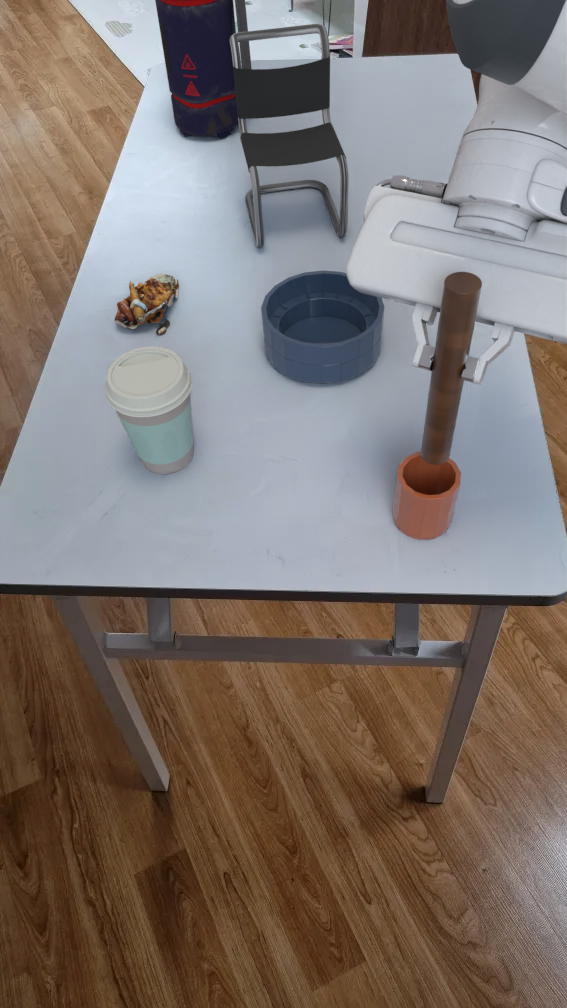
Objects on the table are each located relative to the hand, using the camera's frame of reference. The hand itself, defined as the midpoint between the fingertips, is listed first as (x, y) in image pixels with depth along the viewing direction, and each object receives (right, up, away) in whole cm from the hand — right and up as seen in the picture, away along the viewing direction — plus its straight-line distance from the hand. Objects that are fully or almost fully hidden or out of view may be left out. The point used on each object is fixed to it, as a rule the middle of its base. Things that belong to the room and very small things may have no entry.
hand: (446, 375), depth 56 cm
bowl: (-8, +9, +32) cm, 34 cm away
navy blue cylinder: (-25, +56, +69) cm, 92 cm away
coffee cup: (-26, -5, +23) cm, 34 cm away
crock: (+1, -11, +16) cm, 19 cm away
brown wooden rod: (+1, -6, +8) cm, 10 cm away
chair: (-11, +32, +50) cm, 61 cm away
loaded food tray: (-30, +16, +39) cm, 52 cm away
